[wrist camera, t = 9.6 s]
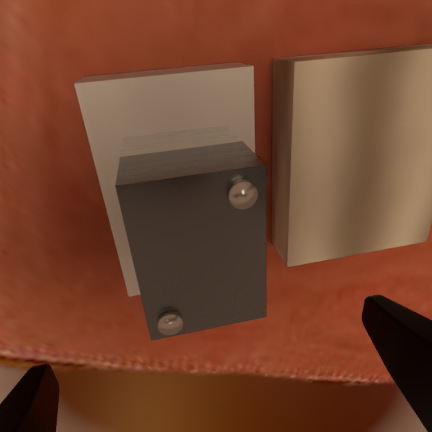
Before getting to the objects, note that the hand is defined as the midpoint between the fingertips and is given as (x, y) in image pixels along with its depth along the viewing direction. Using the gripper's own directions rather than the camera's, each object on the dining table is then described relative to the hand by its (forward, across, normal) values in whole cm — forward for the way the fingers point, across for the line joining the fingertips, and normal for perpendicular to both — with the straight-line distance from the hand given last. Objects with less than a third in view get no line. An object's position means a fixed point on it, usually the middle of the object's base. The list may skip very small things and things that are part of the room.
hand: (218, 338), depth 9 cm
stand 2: (+13, -11, 0) cm, 17 cm away
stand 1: (+13, 0, 0) cm, 13 cm away
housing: (+10, 0, 0) cm, 10 cm away
